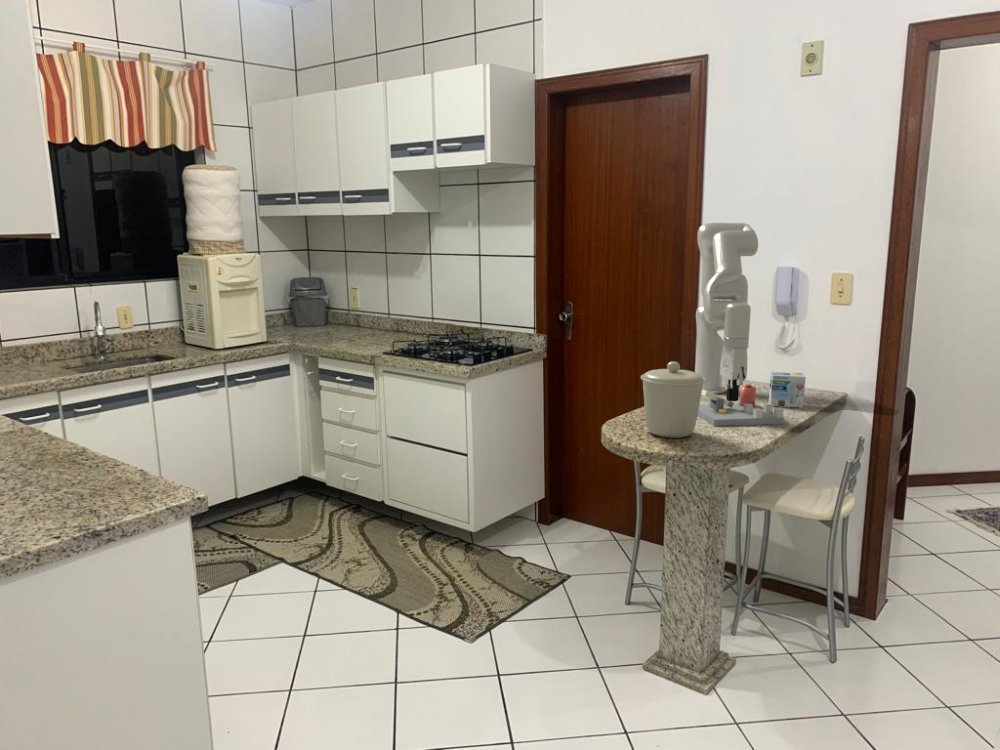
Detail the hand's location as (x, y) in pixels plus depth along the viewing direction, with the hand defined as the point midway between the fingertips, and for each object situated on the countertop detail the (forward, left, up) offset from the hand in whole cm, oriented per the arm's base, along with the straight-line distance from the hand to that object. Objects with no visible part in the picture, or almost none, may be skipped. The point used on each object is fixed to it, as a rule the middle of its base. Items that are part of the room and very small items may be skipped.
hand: (732, 400), depth 242 cm
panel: (+2, 0, -5) cm, 5 cm away
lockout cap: (-5, +7, -3) cm, 9 cm away
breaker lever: (-1, -5, +1) cm, 5 cm away
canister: (+18, -27, -5) cm, 33 cm away
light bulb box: (-12, +24, -5) cm, 27 cm away
